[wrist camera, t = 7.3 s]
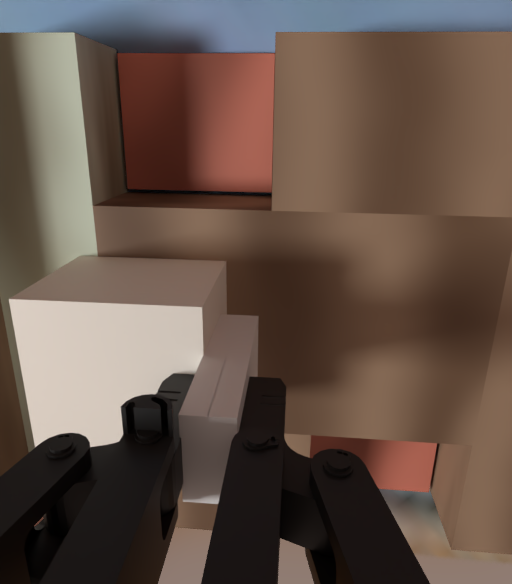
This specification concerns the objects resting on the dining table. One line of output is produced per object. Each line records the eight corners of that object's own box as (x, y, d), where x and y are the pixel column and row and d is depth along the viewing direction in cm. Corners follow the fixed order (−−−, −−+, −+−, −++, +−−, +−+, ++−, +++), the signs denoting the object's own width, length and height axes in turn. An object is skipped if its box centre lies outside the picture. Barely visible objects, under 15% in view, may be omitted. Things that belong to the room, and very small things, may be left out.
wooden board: (718, 50, 18) (929, 12, 12) (579, 499, 26) (667, 616, 20) (-18, 49, 21) (-151, 18, 14) (50, 461, 28) (-19, 555, 22)
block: (226, 260, 19) (202, 307, 14) (227, 392, 21) (206, 471, 16) (79, 255, 19) (8, 298, 14) (95, 385, 21) (37, 459, 16)
